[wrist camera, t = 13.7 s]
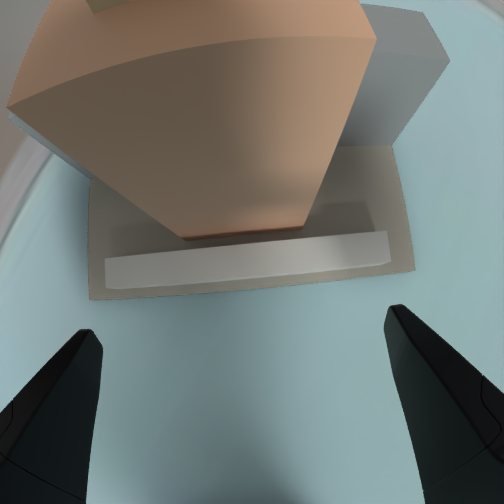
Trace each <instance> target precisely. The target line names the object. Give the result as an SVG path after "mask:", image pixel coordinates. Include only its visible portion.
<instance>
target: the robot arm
mask: <svg viewBox="0 0 504 504" xmlns="http://www.w3.org/2000/svg"><path fill="white" fill-rule="evenodd" d="M384 334H385V338H386V343H387V348H388V353H389V358H390V363H391V368H392V373H393V377H394V381H395V384H396V388H397V391H398V394H399V398H400V401H401V404H402V408H403V412H404V415H405V419H406V422H407V426H408V430H409V434H410V437H411V441H412V445H413V449H414V453H415V457H416V462H417V466H418V470H419V475H420V479H421V484H422V489H423V494H424V499H425V504H504V393H502V392H501V391H500V390H499V389H498V388H497V387H496V386H495V385H494V384H492V383H491V382H490V381H489V380H488V379H487V378H486V377H485V376H484V375H482V374H481V373H480V372H479V371H478V370H477V369H476V368H475V367H474V366H473V365H472V364H471V363H470V362H468V361H467V360H466V359H465V358H464V357H463V356H462V355H461V354H460V353H459V352H457V351H456V350H455V349H454V348H453V347H452V346H451V345H450V344H448V343H447V342H446V341H445V340H444V339H443V338H442V337H440V336H439V335H438V334H437V333H436V332H435V331H434V330H432V329H431V328H430V327H429V326H428V325H427V324H425V323H424V322H423V321H422V320H421V319H420V318H418V317H417V316H416V315H415V314H414V313H413V312H411V311H410V310H409V309H408V308H407V307H406V306H404V305H402V304H398V305H391V306H390V307H389V308H388V311H387V315H386V319H385V322H384ZM102 358H103V347H102V345H101V343H100V341H99V340H98V338H97V337H96V335H95V334H94V332H93V331H92V330H91V329H80V330H79V331H77V332H76V333H75V334H74V335H73V336H72V337H71V338H70V339H69V340H68V341H67V342H66V343H65V344H64V345H63V346H62V347H61V349H60V350H59V351H58V352H57V353H56V354H55V355H54V356H53V357H52V358H51V359H50V360H49V361H48V362H47V363H46V364H45V365H44V366H43V367H42V368H41V369H40V370H39V371H38V372H37V373H36V375H35V376H34V377H33V378H32V379H31V380H30V381H29V382H28V383H27V384H26V385H25V386H24V387H23V388H22V390H21V391H20V392H19V393H18V394H17V395H16V396H15V397H14V398H13V400H12V401H11V402H10V403H9V404H8V405H7V406H6V407H5V408H4V409H3V410H2V411H1V413H0V504H86V495H87V483H88V472H89V462H90V453H91V445H92V438H93V430H94V423H95V417H96V411H97V405H98V399H99V391H100V380H101V368H102Z"/></svg>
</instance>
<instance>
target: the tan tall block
mask: <svg viewBox="0 0 504 504" xmlns="http://www.w3.org/2000/svg"><path fill="white" fill-rule="evenodd" d="M376 40H377V38H376V35H375V33H374V31H373V29H372V27H371V25H370V23H369V21H368V19H367V17H366V15H365V13H364V11H363V9H362V7H361V5H360V3H359V1H358V0H52V1H51V2H50V4H49V6H48V8H47V10H46V12H45V14H44V16H43V17H42V19H41V22H40V23H39V25H38V28H37V30H36V32H35V34H34V36H33V38H32V41H31V43H30V45H29V48H28V50H27V52H26V54H25V57H24V59H23V62H22V64H21V67H20V69H19V72H18V75H17V77H16V80H15V83H14V86H13V89H12V91H11V94H10V98H9V101H8V104H7V109H9V110H10V111H11V112H12V113H14V114H15V115H16V116H17V117H19V118H20V119H21V120H23V121H24V122H25V123H26V124H28V125H29V126H30V127H32V128H33V129H34V130H35V131H37V132H38V133H39V134H41V135H42V136H43V137H45V138H46V139H47V140H48V141H50V142H51V143H52V144H54V145H55V146H56V147H58V148H59V149H60V150H62V151H63V152H64V153H66V154H67V155H68V156H70V157H71V158H72V159H74V160H75V161H76V162H78V163H79V164H80V165H82V166H83V167H84V168H86V169H87V170H88V171H90V172H91V173H92V174H94V175H95V176H96V177H98V178H99V179H100V180H102V181H103V182H104V183H106V184H107V185H108V186H110V187H111V188H113V189H114V190H115V191H117V192H118V193H119V194H121V195H122V196H123V197H125V198H126V199H128V200H129V201H130V202H132V203H133V204H135V205H136V206H137V207H139V208H140V209H141V210H143V211H144V212H146V213H147V214H148V215H150V216H151V217H153V218H154V219H155V220H157V221H158V222H160V223H161V224H162V225H164V226H165V227H167V228H168V229H169V230H171V231H172V232H174V233H175V234H176V235H178V236H179V237H181V238H182V239H183V240H185V241H190V240H200V239H210V238H219V237H229V236H239V235H250V234H260V233H271V232H281V231H292V230H302V228H303V226H304V223H305V221H306V219H307V216H308V214H309V212H310V209H311V207H312V204H313V202H314V200H315V197H316V195H317V192H318V190H319V188H320V185H321V183H322V180H323V178H324V176H325V173H326V171H327V168H328V166H329V163H330V161H331V158H332V156H333V153H334V151H335V148H336V146H337V143H338V141H339V138H340V136H341V133H342V131H343V128H344V126H345V123H346V121H347V118H348V115H349V113H350V110H351V108H352V105H353V102H354V100H355V97H356V95H357V92H358V89H359V87H360V84H361V81H362V79H363V76H364V73H365V71H366V68H367V65H368V63H369V60H370V57H371V54H372V52H373V49H374V46H375V43H376Z"/></svg>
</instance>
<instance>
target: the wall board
mask: <svg viewBox="0 0 504 504" xmlns="http://www.w3.org/2000/svg"><path fill="white" fill-rule="evenodd" d="M360 5H361V7H362V9H363V11H364V13H365V15H366V17H367V19H368V21H369V23H370V25H371V27H372V29H373V31H374V33H375V35H376V38H377V40H376V43H375V46H374V49H373V52H372V54H371V57H370V60H369V63H368V65H367V68H366V71H365V73H364V76H363V79H362V81H361V84H360V87H359V89H358V92H357V95H356V97H355V100H354V102H353V105H352V108H351V110H350V113H349V115H348V118H347V121H346V123H345V126H344V128H343V131H342V133H341V136H340V138H339V141H338V143H337V146H336V148H335V151H334V153H333V156H332V158H331V161H330V163H329V166H328V168H327V171H326V173H325V176H324V178H323V180H322V183H321V185H320V188H319V190H318V192H317V195H316V197H315V200H314V202H313V204H312V207H311V209H310V212H309V214H308V216H307V219H306V221H305V223H304V226H303V228H302V230H292V231H281V232H271V233H260V234H250V235H239V236H229V237H219V238H210V239H200V240H190V241H185V240H183V239H182V238H181V237H179V236H178V235H176V234H175V233H174V232H172V231H171V230H169V229H168V228H167V227H165V226H164V225H162V224H161V223H160V222H158V221H157V220H155V219H154V218H153V217H151V216H150V215H148V214H147V213H146V212H144V211H143V210H141V209H140V208H139V207H137V206H136V205H135V204H133V203H132V202H130V201H129V200H128V199H126V198H125V197H123V196H122V195H121V194H119V193H118V192H117V191H115V190H114V189H113V188H111V187H110V186H108V185H107V184H106V183H104V182H103V181H102V180H100V179H99V178H98V177H96V176H95V175H94V174H92V173H91V172H90V171H88V170H87V169H86V168H84V167H83V166H82V165H80V164H79V163H78V162H76V161H75V160H74V159H72V158H71V157H70V156H68V155H67V154H66V153H64V152H63V151H62V150H60V149H59V148H58V147H56V146H55V145H54V144H52V143H51V142H50V141H48V140H47V139H46V138H45V137H43V136H42V135H41V134H39V133H38V132H37V131H35V130H34V129H33V128H32V127H30V126H29V125H28V124H26V123H25V122H24V121H23V120H21V119H20V118H19V117H17V116H16V115H15V114H14V113H12V112H11V111H10V113H9V116H8V120H10V121H11V122H12V123H14V124H15V125H16V126H18V127H19V128H20V129H22V130H23V131H24V132H26V133H27V134H28V135H30V136H31V137H32V138H34V139H35V140H37V141H38V142H39V143H41V144H42V145H43V146H45V147H46V148H48V149H49V150H50V151H52V152H53V153H54V154H56V155H57V156H59V157H60V158H61V159H63V160H64V161H66V162H67V163H68V164H70V165H71V166H73V167H74V168H75V169H77V170H78V171H80V172H81V173H82V174H84V175H85V176H87V177H88V178H90V191H89V210H88V285H89V300H110V299H128V298H145V297H160V296H175V295H189V294H202V293H214V292H226V291H238V290H249V289H260V288H271V287H281V286H291V285H300V284H310V283H319V282H328V281H337V280H346V279H354V278H363V277H371V276H379V275H387V274H394V273H402V272H410V271H414V270H416V269H415V262H414V254H413V247H412V241H411V235H410V229H409V223H408V217H407V212H406V206H405V201H404V196H403V192H402V187H401V182H400V178H399V174H398V169H397V165H396V161H395V157H394V153H393V149H392V144H393V143H394V141H395V140H396V138H397V137H398V136H399V134H400V133H401V132H402V130H403V129H404V127H405V126H406V125H407V123H408V122H409V120H410V119H411V118H412V116H413V115H414V113H415V112H416V110H417V109H418V108H419V106H420V105H421V103H422V102H423V100H424V99H425V98H426V96H427V95H428V93H429V92H430V90H431V89H432V87H433V86H434V84H435V83H436V81H437V80H438V79H439V77H440V76H441V74H442V73H443V71H444V70H445V68H446V67H447V65H448V64H449V62H450V59H449V57H448V55H447V53H446V51H445V50H444V48H443V46H442V44H441V42H440V40H439V39H438V37H437V35H436V33H435V32H434V30H433V28H432V27H431V25H430V23H429V22H428V20H427V18H426V17H425V15H424V14H423V13H422V12H417V11H412V10H406V9H400V8H393V7H386V6H378V5H369V4H360Z"/></svg>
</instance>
